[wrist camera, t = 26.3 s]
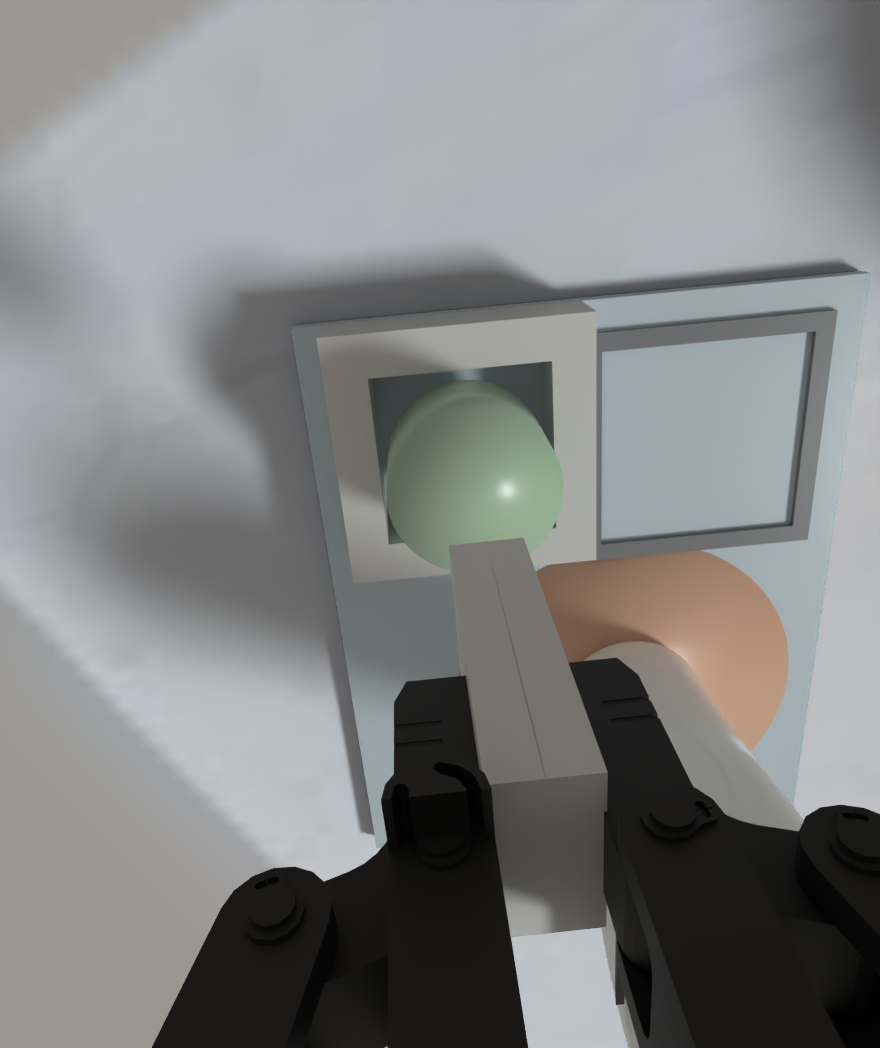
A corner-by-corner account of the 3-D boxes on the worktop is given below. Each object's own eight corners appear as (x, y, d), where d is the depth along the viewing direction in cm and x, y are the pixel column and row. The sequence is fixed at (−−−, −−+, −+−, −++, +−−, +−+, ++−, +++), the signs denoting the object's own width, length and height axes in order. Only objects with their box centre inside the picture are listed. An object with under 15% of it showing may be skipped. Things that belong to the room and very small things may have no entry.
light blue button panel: (860, 270, 24) (874, 273, 23) (786, 795, 33) (795, 809, 33) (292, 325, 24) (289, 329, 23) (376, 836, 33) (376, 851, 32)
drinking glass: (513, 738, 30) (604, 1194, 17) (579, 596, 28) (749, 997, 14) (665, 775, 32) (867, 1229, 18) (742, 642, 29) (1045, 1054, 15)
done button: (542, 372, 22) (562, 399, 20) (546, 520, 24) (564, 564, 22) (379, 387, 22) (376, 417, 20) (397, 535, 24) (396, 580, 22)
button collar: (581, 300, 23) (596, 311, 22) (583, 533, 27) (596, 559, 25) (322, 325, 23) (316, 338, 22) (356, 556, 27) (353, 583, 25)
